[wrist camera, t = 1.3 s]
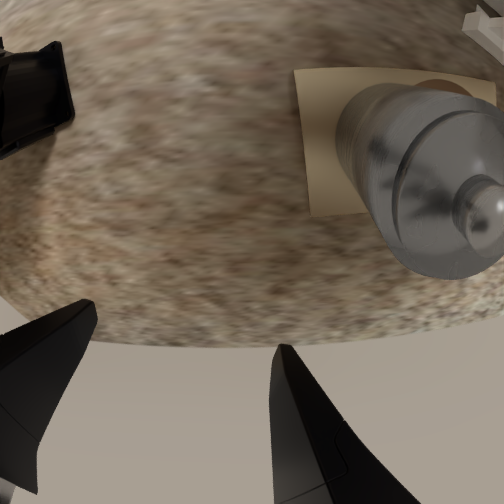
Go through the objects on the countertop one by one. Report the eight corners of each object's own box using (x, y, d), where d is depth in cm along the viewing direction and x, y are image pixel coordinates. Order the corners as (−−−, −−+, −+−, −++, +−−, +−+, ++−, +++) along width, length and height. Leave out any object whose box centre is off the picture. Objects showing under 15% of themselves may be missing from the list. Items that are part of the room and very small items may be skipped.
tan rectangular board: (293, 70, 15) (293, 69, 14) (490, 81, 13) (496, 82, 12) (309, 213, 20) (310, 218, 19) (483, 201, 18) (488, 205, 17)
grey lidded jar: (329, 83, 14) (403, 94, 6) (443, 86, 13) (572, 125, 4) (338, 201, 19) (386, 328, 10) (440, 195, 17) (530, 297, 8)
